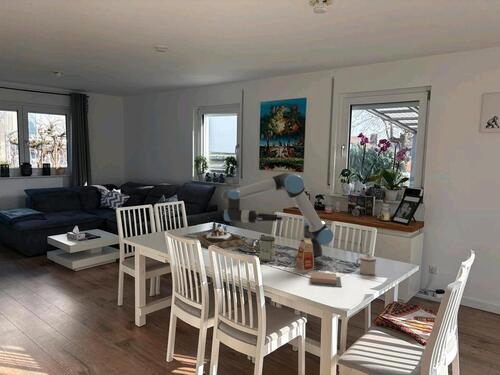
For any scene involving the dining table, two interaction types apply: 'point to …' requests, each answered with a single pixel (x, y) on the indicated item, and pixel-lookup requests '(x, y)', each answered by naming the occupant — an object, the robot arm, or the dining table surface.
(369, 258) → the teacup with lid
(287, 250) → the dining table surface
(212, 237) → the miniature diorama
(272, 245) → the coffee can
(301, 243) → the milk carton
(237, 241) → the diorama tray
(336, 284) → the mat
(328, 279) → the tile
